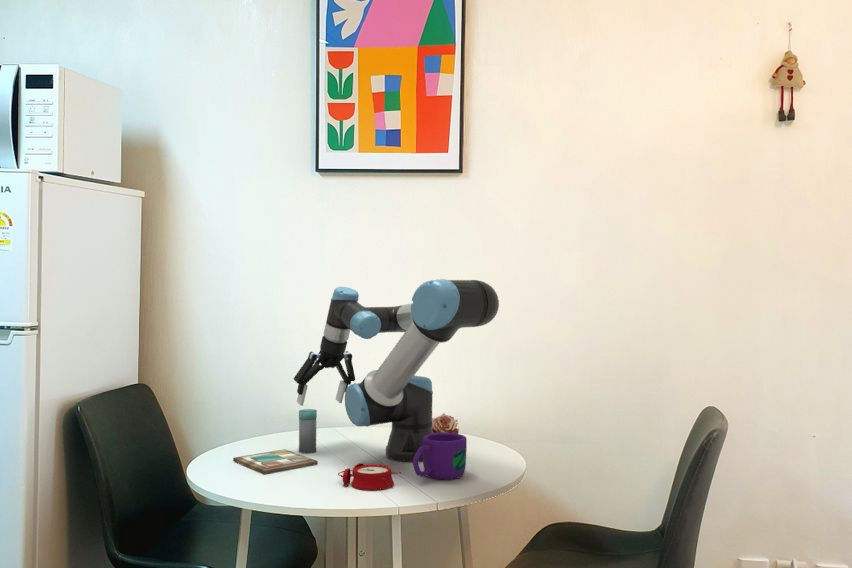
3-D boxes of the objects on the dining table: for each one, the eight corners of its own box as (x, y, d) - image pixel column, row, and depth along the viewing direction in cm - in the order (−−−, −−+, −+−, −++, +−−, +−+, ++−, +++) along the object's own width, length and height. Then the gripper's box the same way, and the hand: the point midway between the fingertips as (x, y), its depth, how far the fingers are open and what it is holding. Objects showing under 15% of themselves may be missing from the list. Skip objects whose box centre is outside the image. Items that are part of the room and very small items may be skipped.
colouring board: (317, 464, 193) (317, 459, 193) (264, 474, 182) (264, 469, 182) (284, 452, 206) (284, 447, 206) (233, 461, 196) (233, 456, 196)
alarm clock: (385, 478, 166) (332, 457, 172) (379, 504, 166) (327, 482, 173) (405, 468, 175) (355, 449, 182) (400, 492, 176) (350, 472, 182)
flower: (423, 432, 226) (425, 415, 222) (448, 424, 230) (451, 407, 226) (437, 454, 220) (440, 437, 215) (463, 446, 224) (466, 428, 219)
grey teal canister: (319, 451, 208) (320, 410, 208) (304, 454, 204) (304, 412, 204) (310, 448, 212) (310, 408, 212) (295, 451, 208) (295, 410, 208)
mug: (442, 467, 190) (442, 430, 190) (475, 475, 182) (475, 436, 182) (397, 480, 177) (397, 440, 177) (431, 489, 169) (431, 447, 169)
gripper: (363, 333, 220) (347, 394, 225) (292, 332, 205) (277, 398, 209) (376, 343, 215) (360, 405, 220) (304, 343, 199) (288, 410, 204)
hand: (319, 402), depth 215 cm, fingers open, 13 cm apart
